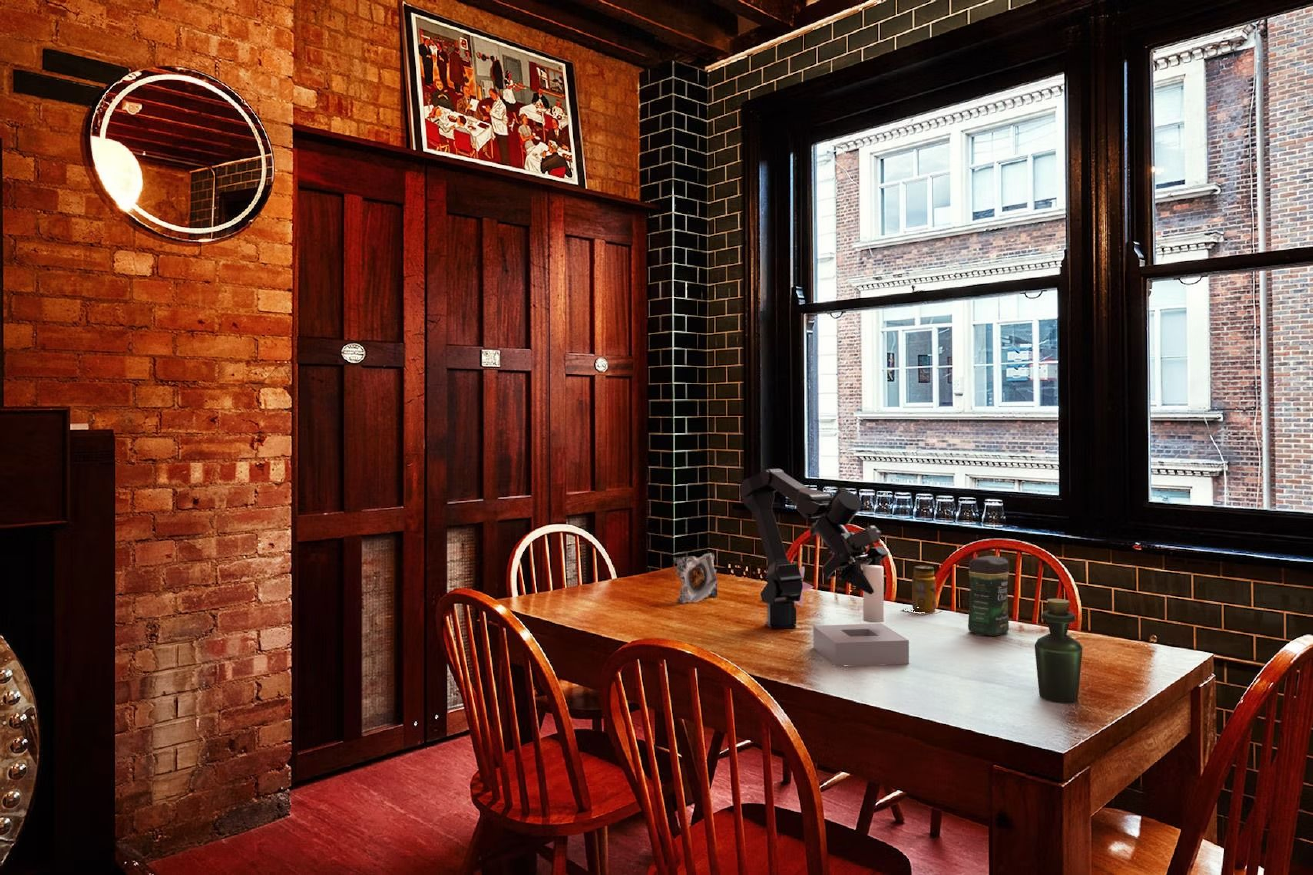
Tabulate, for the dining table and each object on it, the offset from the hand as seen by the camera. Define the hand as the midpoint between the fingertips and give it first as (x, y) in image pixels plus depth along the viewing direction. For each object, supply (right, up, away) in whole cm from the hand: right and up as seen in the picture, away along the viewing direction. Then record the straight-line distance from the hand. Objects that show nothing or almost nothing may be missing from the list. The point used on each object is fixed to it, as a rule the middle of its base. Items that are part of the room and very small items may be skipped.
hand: (878, 591), depth 195 cm
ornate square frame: (-38, -13, +61) cm, 73 cm away
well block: (-5, -14, -2) cm, 15 cm away
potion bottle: (+25, -14, -33) cm, 44 cm away
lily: (-11, -13, +56) cm, 59 cm away
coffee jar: (+31, -13, +18) cm, 39 cm away
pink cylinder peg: (-1, -7, +1) cm, 7 cm away
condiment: (+23, -13, +43) cm, 51 cm away
